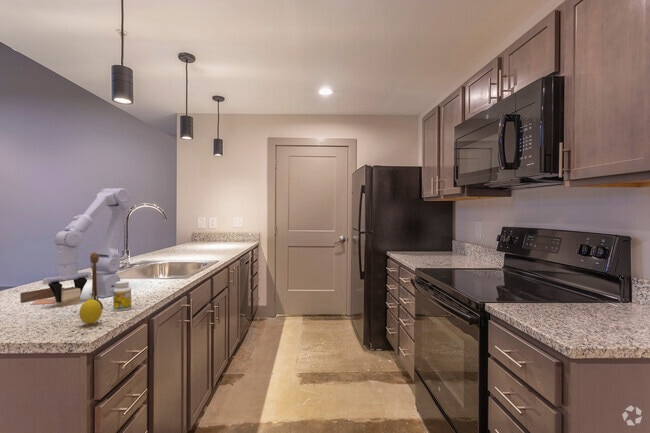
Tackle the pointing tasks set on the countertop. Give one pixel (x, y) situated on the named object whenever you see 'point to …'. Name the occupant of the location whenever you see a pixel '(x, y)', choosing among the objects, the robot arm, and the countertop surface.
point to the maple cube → (69, 297)
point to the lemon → (90, 311)
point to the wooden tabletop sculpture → (94, 277)
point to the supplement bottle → (122, 296)
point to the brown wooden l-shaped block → (36, 295)
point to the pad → (45, 301)
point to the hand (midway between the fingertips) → (68, 300)
